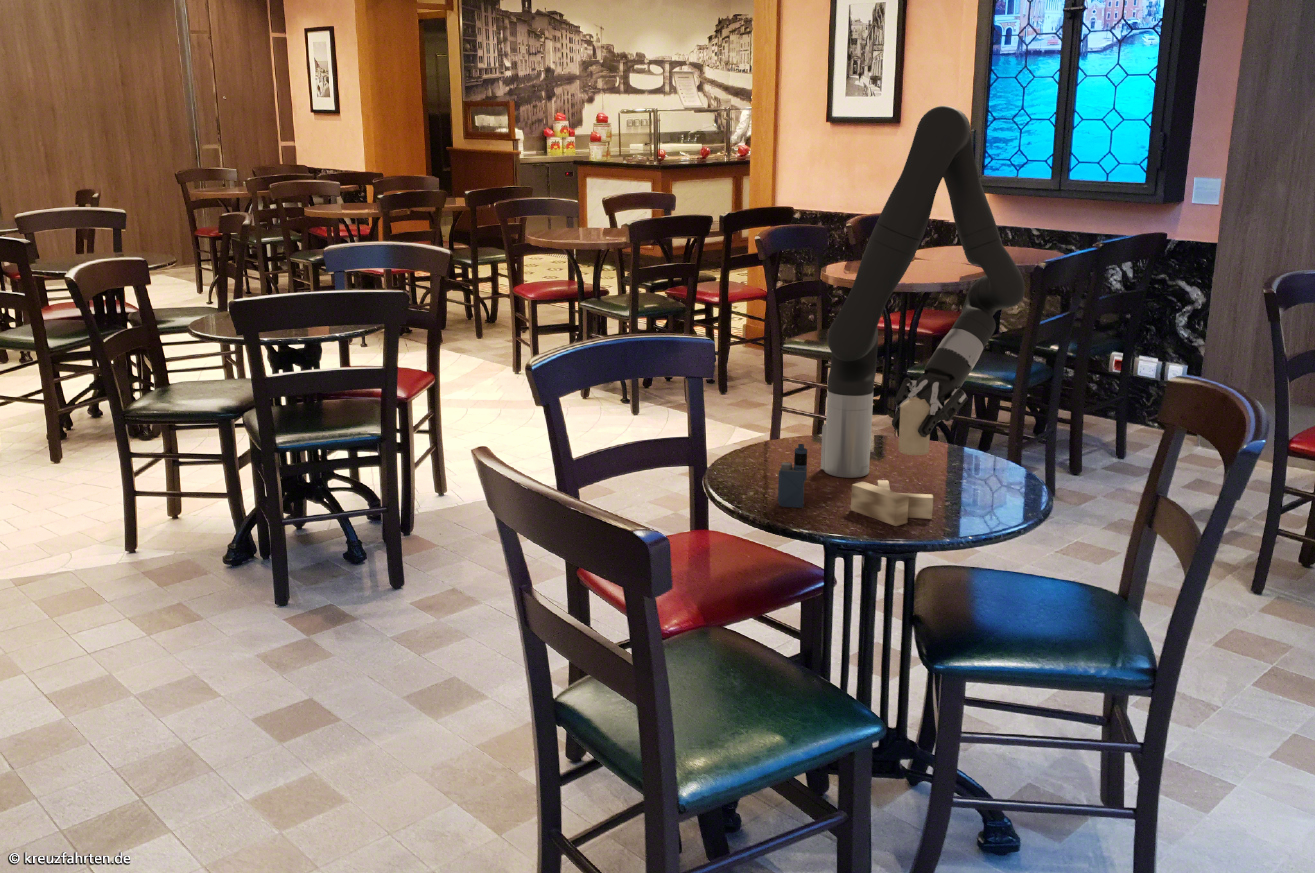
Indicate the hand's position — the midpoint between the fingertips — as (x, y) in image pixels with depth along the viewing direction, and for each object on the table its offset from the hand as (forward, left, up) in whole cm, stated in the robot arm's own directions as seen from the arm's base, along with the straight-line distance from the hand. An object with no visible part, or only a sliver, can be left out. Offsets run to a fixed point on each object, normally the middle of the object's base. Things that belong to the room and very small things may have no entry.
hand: (908, 430), depth 200 cm
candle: (0, +2, -4) cm, 5 cm away
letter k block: (0, -3, -15) cm, 15 cm away
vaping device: (-14, -15, -15) cm, 26 cm away
